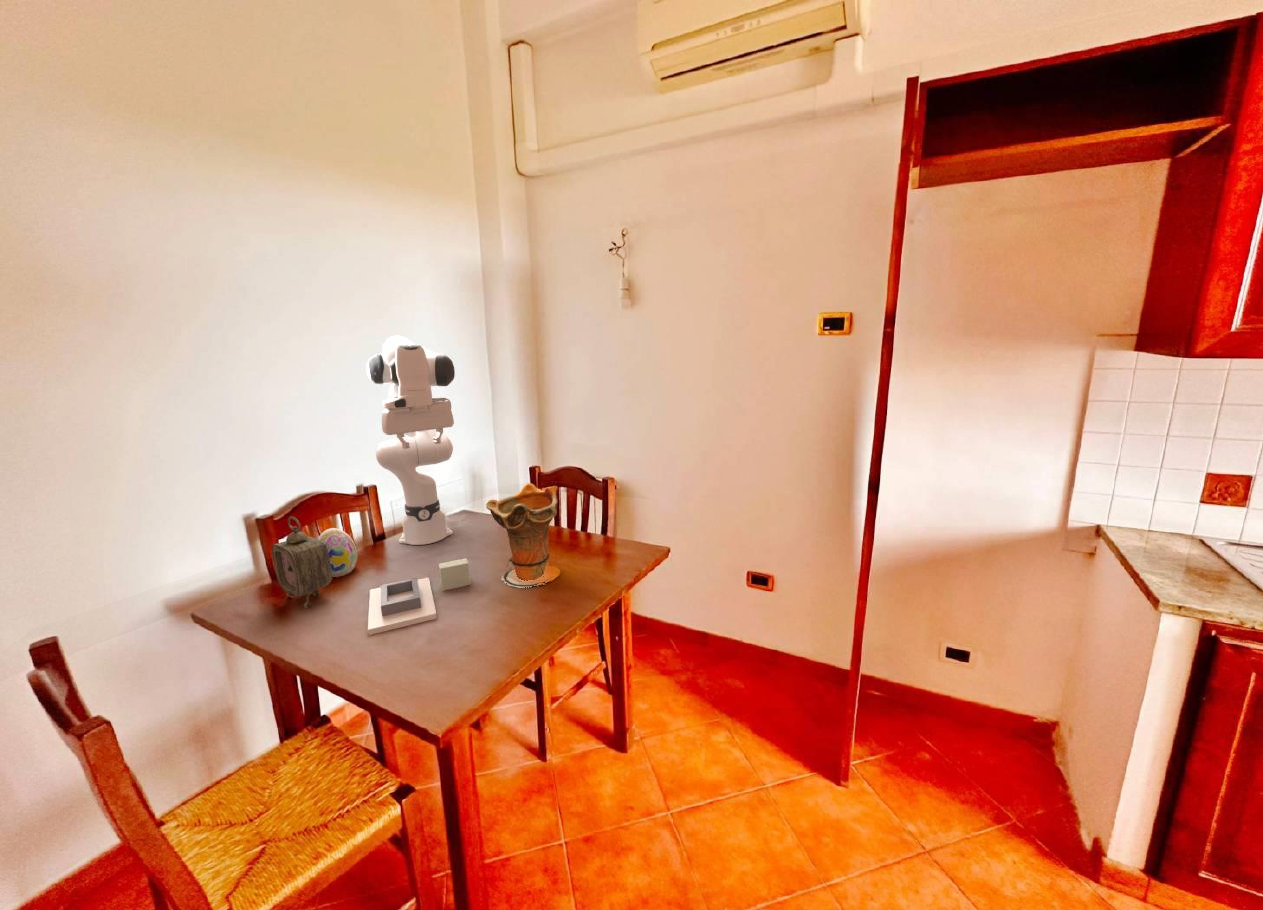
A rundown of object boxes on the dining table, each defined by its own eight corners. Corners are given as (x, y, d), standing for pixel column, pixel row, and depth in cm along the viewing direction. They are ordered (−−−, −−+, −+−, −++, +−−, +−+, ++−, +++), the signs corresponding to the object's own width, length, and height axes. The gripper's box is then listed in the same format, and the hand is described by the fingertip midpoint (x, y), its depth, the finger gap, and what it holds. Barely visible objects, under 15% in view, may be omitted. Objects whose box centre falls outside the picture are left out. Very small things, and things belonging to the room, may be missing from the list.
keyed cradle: (370, 594, 145) (368, 580, 144) (429, 581, 152) (427, 568, 151) (368, 635, 124) (365, 618, 123) (436, 618, 131) (434, 602, 130)
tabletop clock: (280, 599, 144) (264, 517, 139) (314, 586, 152) (299, 508, 146) (304, 612, 136) (287, 526, 131) (338, 598, 144) (324, 516, 138)
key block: (441, 585, 150) (438, 563, 148) (468, 579, 153) (466, 558, 152) (442, 590, 146) (439, 568, 145) (470, 584, 150) (468, 563, 148)
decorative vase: (478, 588, 146) (472, 495, 141) (518, 560, 168) (514, 479, 163) (543, 597, 140) (538, 500, 135) (575, 566, 161) (573, 482, 157)
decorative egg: (317, 585, 152) (309, 539, 149) (314, 571, 162) (306, 528, 159) (362, 573, 159) (355, 529, 156) (356, 561, 169) (349, 519, 166)
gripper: (445, 396, 156) (450, 439, 159) (376, 402, 142) (383, 450, 145) (454, 396, 152) (459, 441, 154) (384, 403, 138) (391, 452, 140)
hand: (422, 445), depth 149 cm, fingers open, 8 cm apart
